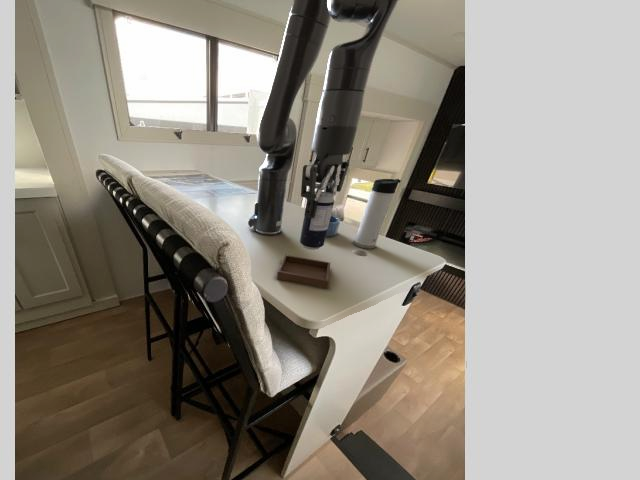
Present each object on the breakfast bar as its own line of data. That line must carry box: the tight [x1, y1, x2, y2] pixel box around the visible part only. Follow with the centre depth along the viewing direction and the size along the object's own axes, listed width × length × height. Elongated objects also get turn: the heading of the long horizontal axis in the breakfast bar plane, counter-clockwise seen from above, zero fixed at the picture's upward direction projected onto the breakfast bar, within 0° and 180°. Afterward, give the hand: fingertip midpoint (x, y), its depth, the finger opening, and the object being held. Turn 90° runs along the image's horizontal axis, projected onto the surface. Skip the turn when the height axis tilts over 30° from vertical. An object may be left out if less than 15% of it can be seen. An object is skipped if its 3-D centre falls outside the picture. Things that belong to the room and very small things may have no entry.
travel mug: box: [353, 178, 402, 250], centre depth 76 cm, size 6×7×20 cm
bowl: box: [326, 215, 341, 238], centre depth 89 cm, size 9×9×5 cm
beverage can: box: [299, 190, 335, 251], centre depth 57 cm, size 6×6×12 cm
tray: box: [276, 254, 331, 289], centre depth 65 cm, size 12×10×2 cm
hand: (317, 214), depth 56 cm, fingers closed on beverage can, 5 cm apart
